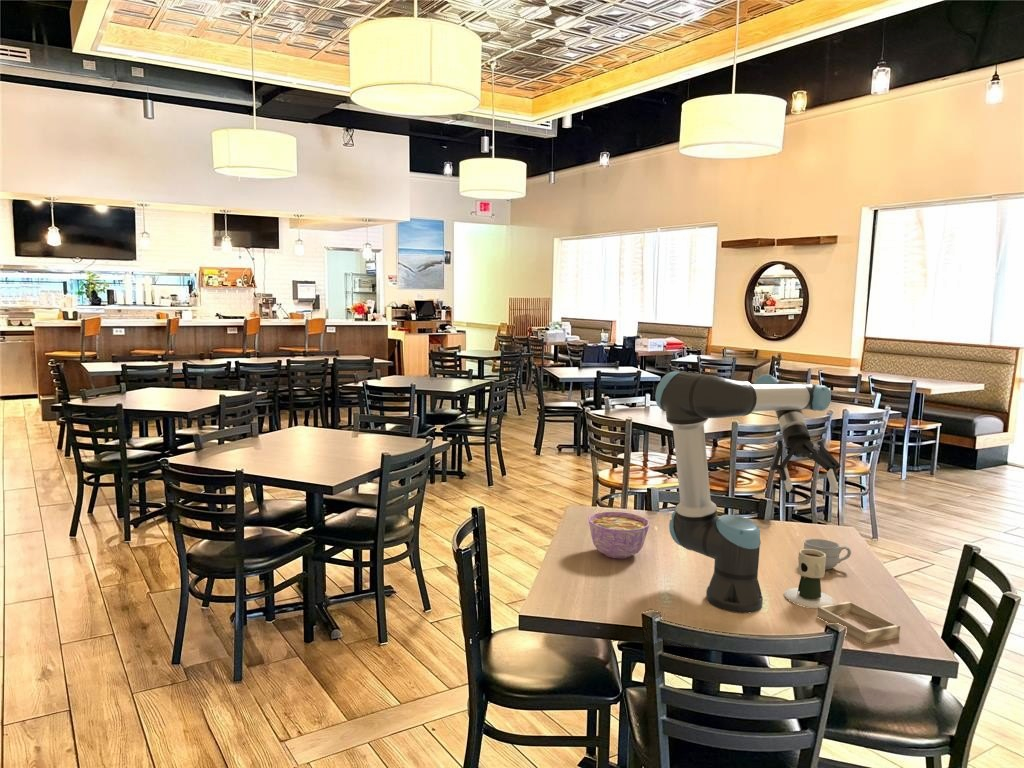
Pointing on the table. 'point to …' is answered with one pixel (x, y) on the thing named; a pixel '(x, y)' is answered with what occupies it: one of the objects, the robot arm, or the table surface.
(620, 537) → the bowl of food
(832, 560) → the teacup
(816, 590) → the character mug
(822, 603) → the white saucer
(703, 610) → the table surface
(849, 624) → the wooden tray
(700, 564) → the table surface
